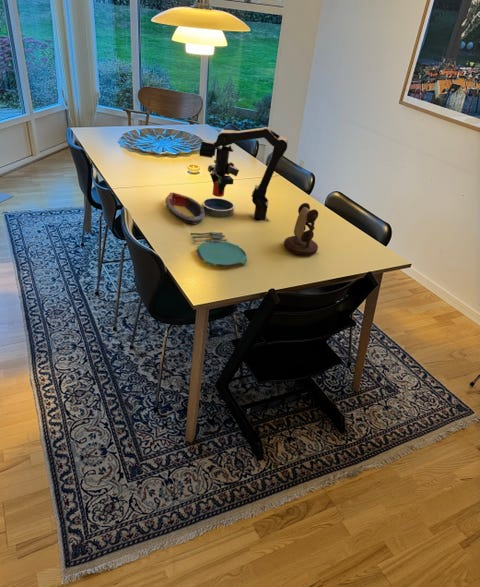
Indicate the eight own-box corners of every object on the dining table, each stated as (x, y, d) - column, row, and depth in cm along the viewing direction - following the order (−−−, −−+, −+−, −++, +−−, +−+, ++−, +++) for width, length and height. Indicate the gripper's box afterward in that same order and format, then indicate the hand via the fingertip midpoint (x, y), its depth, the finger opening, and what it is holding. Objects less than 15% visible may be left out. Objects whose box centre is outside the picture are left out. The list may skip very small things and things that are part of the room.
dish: (179, 228, 197) (180, 218, 194) (158, 201, 219) (158, 191, 216) (211, 226, 203) (212, 215, 200) (188, 199, 225) (188, 190, 223)
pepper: (225, 196, 212) (227, 182, 208) (214, 196, 210) (216, 182, 206) (221, 192, 216) (223, 178, 212) (210, 192, 214) (212, 178, 210)
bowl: (238, 217, 215) (239, 209, 213) (208, 219, 209) (208, 211, 207) (226, 204, 226) (227, 197, 224) (197, 206, 220) (198, 198, 218)
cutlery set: (204, 271, 169) (204, 266, 168) (185, 235, 192) (185, 230, 191) (252, 268, 176) (253, 263, 175) (229, 233, 199) (229, 229, 197)
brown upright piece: (277, 242, 198) (285, 200, 187) (305, 240, 203) (315, 198, 193) (293, 258, 187) (303, 214, 176) (323, 255, 193) (334, 212, 182)
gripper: (246, 166, 200) (241, 199, 208) (230, 153, 213) (227, 184, 222) (222, 166, 195) (219, 200, 204) (208, 153, 209) (205, 185, 218)
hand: (218, 192), depth 212 cm, fingers closed on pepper, 5 cm apart
